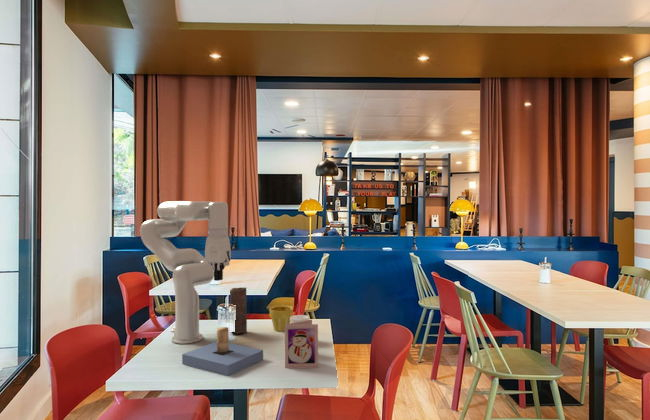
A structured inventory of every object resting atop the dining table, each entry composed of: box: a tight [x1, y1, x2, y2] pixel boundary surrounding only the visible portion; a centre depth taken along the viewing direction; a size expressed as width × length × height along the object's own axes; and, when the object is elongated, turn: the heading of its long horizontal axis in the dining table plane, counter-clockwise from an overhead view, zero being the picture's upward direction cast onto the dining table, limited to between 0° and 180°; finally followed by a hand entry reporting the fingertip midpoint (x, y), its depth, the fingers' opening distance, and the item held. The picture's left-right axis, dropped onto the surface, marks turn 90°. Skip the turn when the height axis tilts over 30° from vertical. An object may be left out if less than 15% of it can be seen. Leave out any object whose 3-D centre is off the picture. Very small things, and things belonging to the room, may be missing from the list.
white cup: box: [290, 314, 310, 324], centre depth 184 cm, size 8×8×10 cm
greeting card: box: [284, 319, 319, 369], centre depth 156 cm, size 11×7×15 cm, turn 91°
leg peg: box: [216, 326, 230, 356], centre depth 160 cm, size 4×4×12 cm
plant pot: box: [269, 305, 294, 333], centre depth 201 cm, size 10×10×10 cm
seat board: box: [181, 341, 264, 377], centre depth 160 cm, size 22×18×4 cm
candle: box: [229, 287, 248, 334], centre depth 196 cm, size 8×7×20 cm
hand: (218, 279), depth 174 cm, fingers closed
